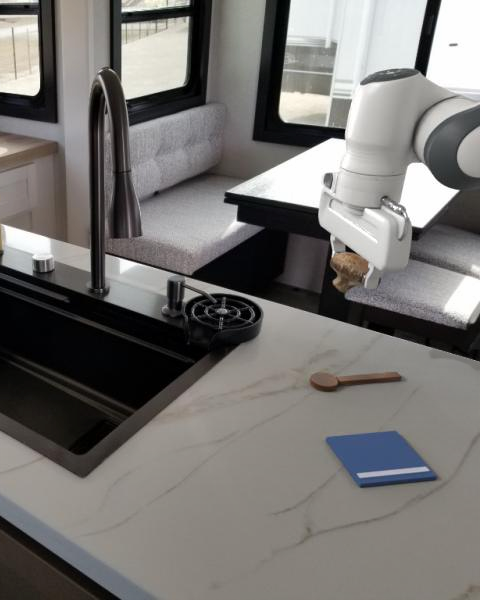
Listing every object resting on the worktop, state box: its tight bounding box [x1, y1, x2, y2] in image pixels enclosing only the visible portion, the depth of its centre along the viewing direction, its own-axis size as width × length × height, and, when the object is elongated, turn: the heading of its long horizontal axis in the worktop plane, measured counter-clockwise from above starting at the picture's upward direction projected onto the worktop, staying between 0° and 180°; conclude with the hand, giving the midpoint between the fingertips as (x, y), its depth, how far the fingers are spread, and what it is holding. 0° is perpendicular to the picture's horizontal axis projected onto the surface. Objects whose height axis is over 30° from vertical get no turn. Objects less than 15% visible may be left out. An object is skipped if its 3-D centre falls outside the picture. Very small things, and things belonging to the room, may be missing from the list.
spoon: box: [309, 371, 402, 393], centre depth 98 cm, size 14×4×1 cm, turn 97°
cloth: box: [325, 430, 438, 488], centre depth 82 cm, size 10×9×1 cm
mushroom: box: [329, 251, 382, 294], centre depth 99 cm, size 8×8×6 cm
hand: (352, 274), depth 99 cm, fingers closed on mushroom, 8 cm apart
